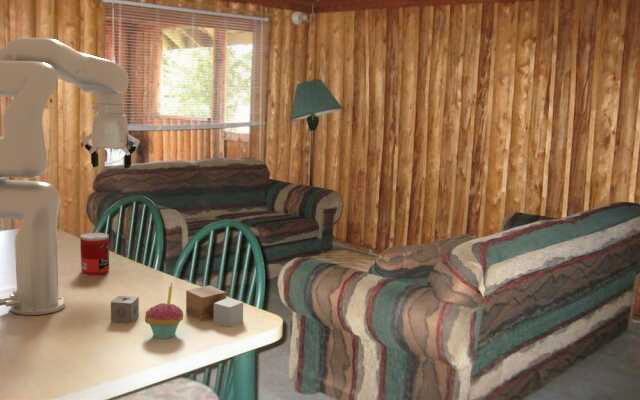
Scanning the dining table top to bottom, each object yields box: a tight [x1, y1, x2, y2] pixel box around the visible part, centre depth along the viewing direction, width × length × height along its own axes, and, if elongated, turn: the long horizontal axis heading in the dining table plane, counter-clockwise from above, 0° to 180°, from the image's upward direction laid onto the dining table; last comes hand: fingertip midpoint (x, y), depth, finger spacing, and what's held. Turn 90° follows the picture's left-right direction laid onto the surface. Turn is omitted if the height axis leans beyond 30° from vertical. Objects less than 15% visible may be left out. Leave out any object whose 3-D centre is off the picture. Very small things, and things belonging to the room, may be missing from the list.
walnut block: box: [185, 285, 227, 322], centre depth 172 cm, size 7×7×6 cm
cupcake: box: [144, 281, 184, 339], centre depth 157 cm, size 9×8×12 cm
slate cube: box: [213, 297, 244, 328], centre depth 167 cm, size 5×5×5 cm
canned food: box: [79, 232, 110, 276], centre depth 204 cm, size 8×8×11 cm
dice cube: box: [110, 295, 140, 324], centre depth 167 cm, size 5×5×5 cm
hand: (111, 167), depth 208 cm, fingers open, 9 cm apart
